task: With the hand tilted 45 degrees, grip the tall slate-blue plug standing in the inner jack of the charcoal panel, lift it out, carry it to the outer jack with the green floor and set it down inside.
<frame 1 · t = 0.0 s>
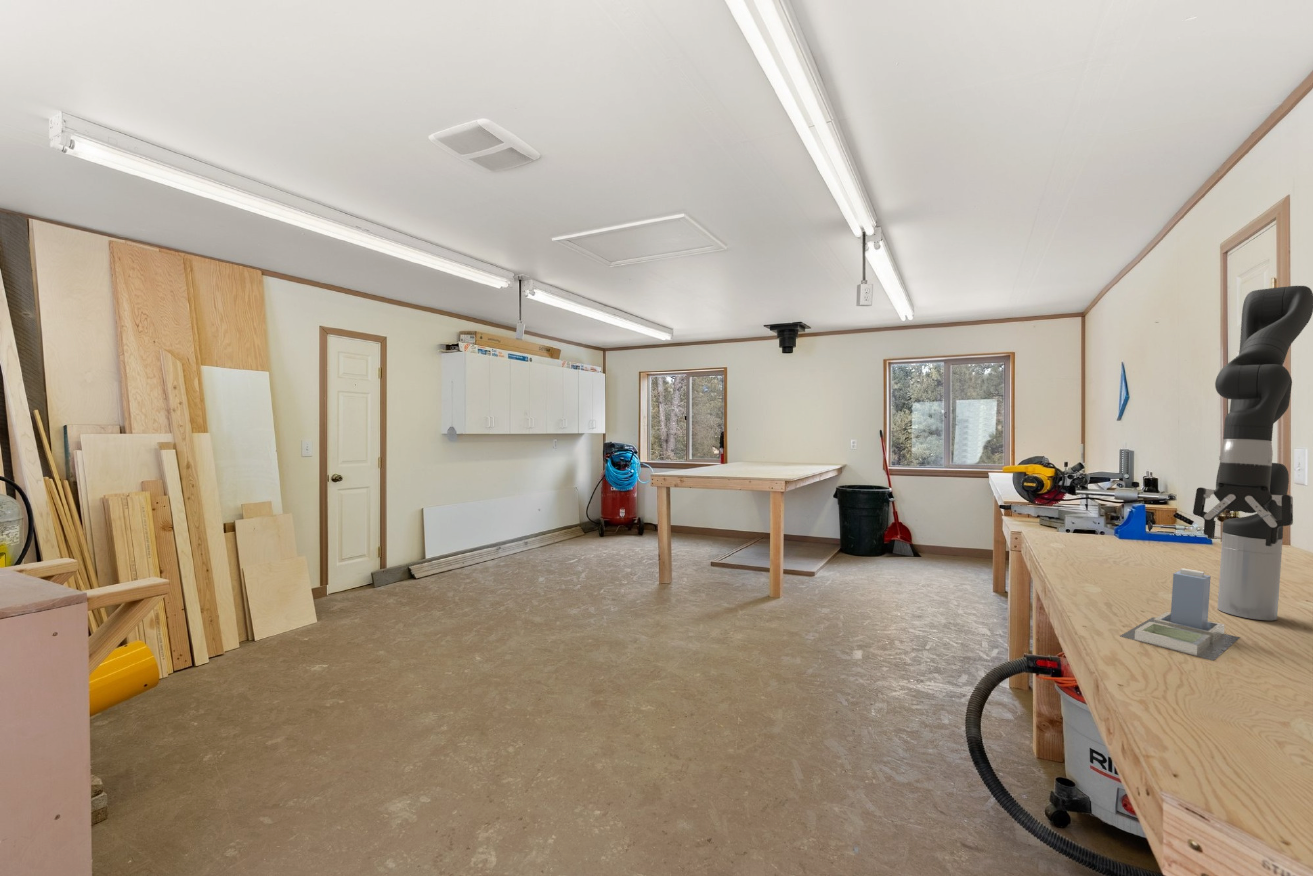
hand: (1238, 542, 120), 17 cm above the table, tool pointing down, fingers open, 8 cm apart
panel: (1180, 639, 111), on the table
plug: (1188, 631, 114), point 1 cm above the table, touching panel
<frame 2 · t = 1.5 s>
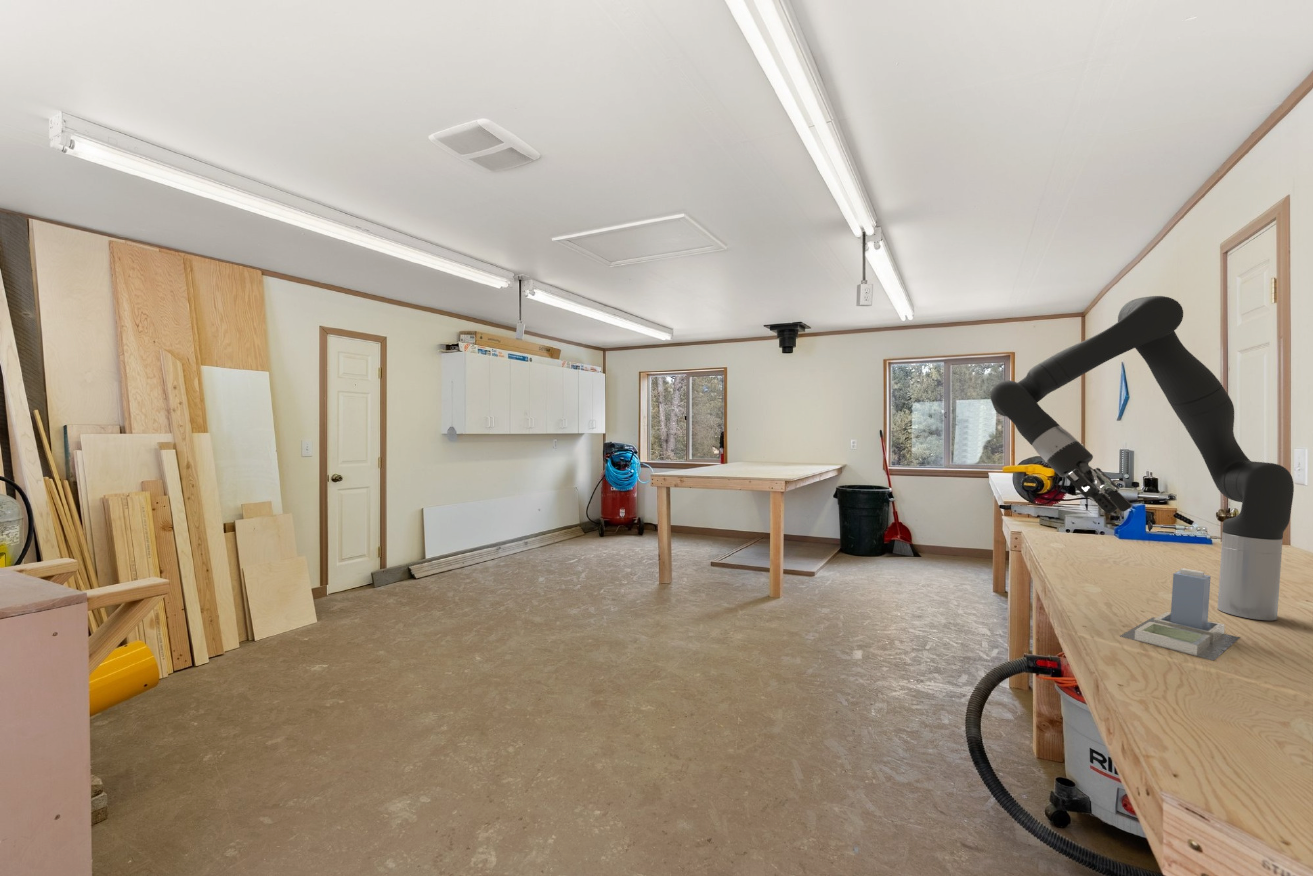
hand: (1120, 510, 122), 22 cm above the table, tool tilted 45°, fingers open, 8 cm apart
nothing on the table moved.
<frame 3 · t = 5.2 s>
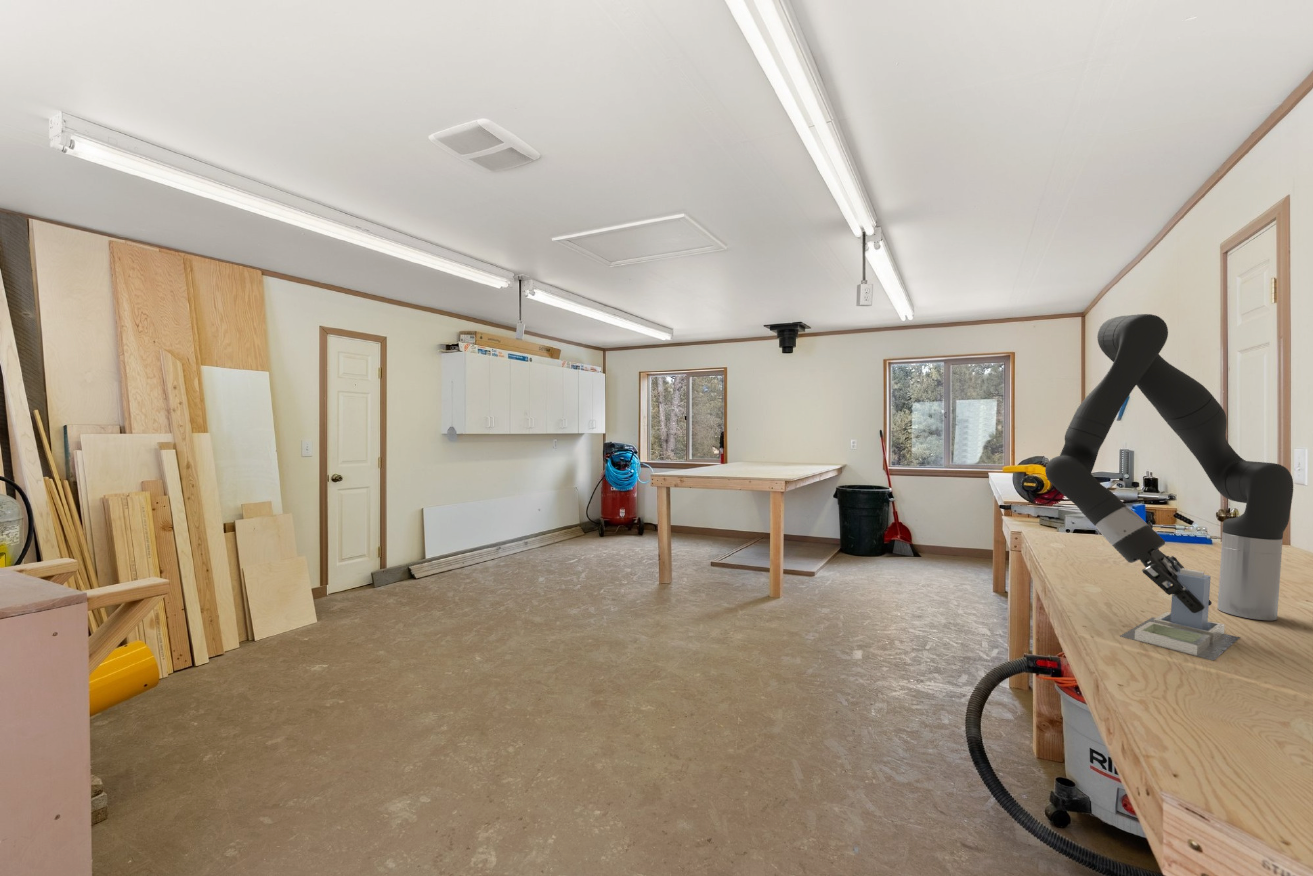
hand: (1203, 608, 112), 6 cm above the table, tool tilted 45°, fingers closed on plug, 4 cm apart
plug: (1188, 631, 114), point 1 cm above the table, touching gripper, panel
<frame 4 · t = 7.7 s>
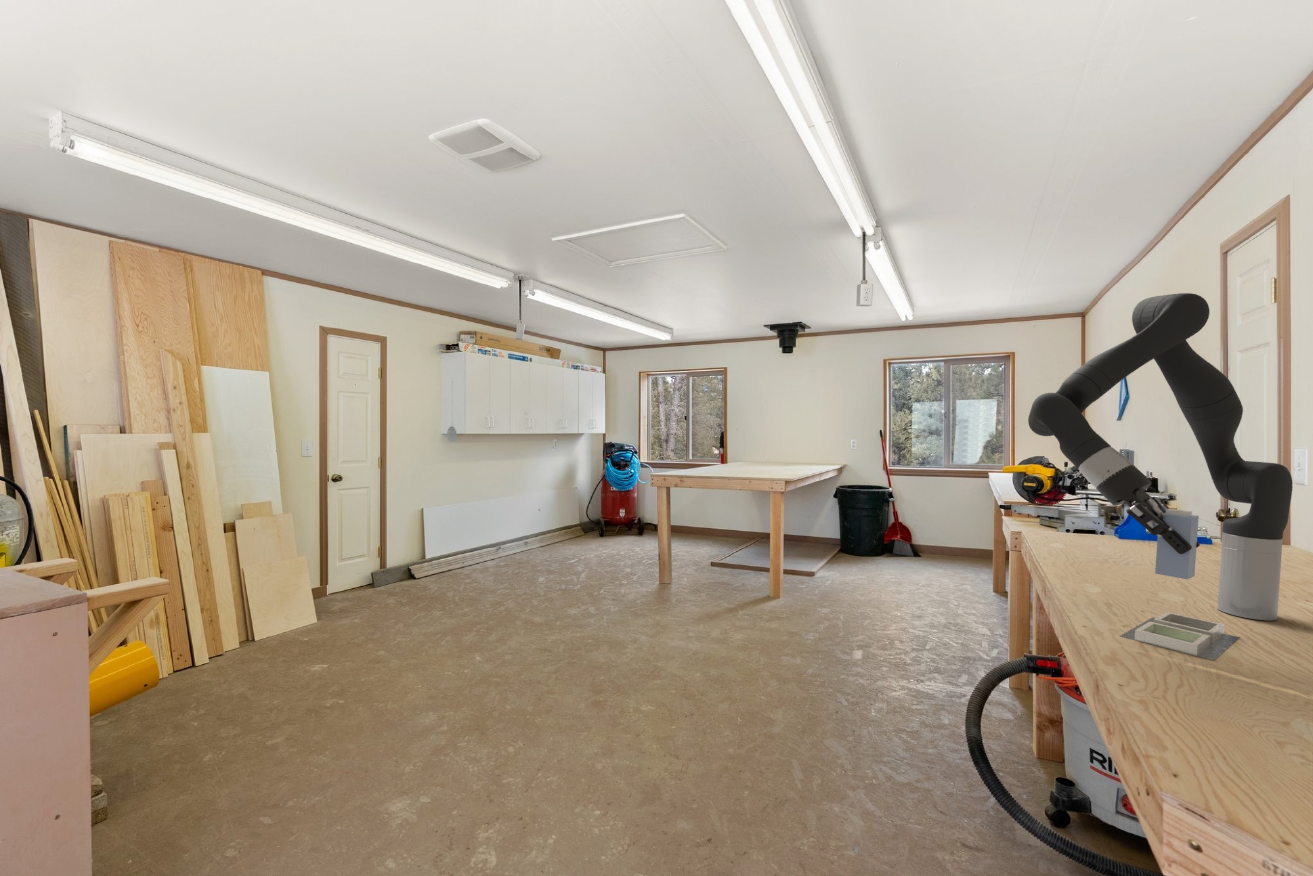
hand: (1190, 549, 105), 18 cm above the table, tool tilted 45°, fingers closed on plug, 4 cm apart
plug: (1174, 574, 107), point 13 cm above the table, touching gripper
when the fingers open (7 cm above the table, at t = 10.2 s): plug stays where it is, resting on panel.
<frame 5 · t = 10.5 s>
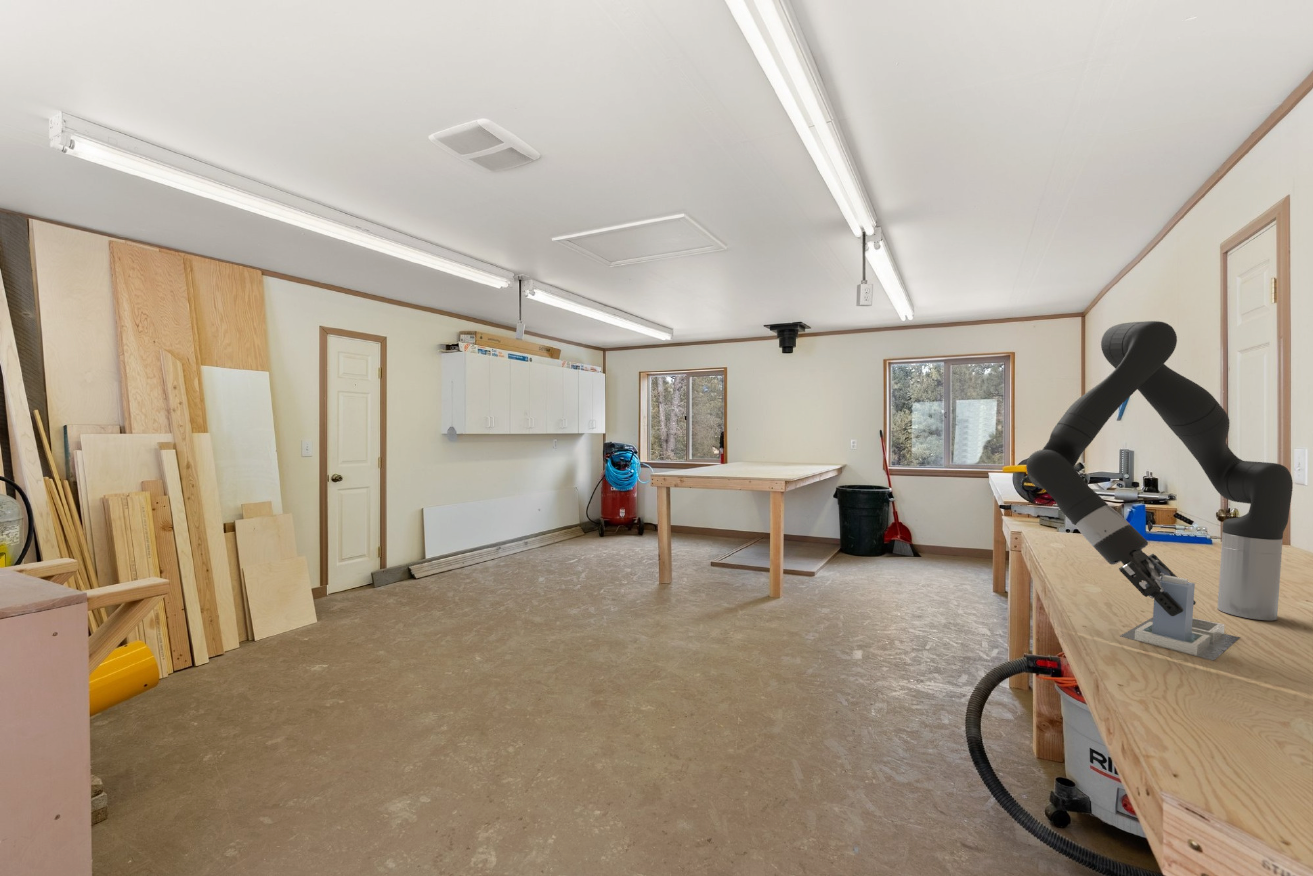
hand: (1184, 610, 106), 7 cm above the table, tool tilted 45°, fingers open, 7 cm apart
plug: (1171, 641, 107), point 1 cm above the table, touching panel
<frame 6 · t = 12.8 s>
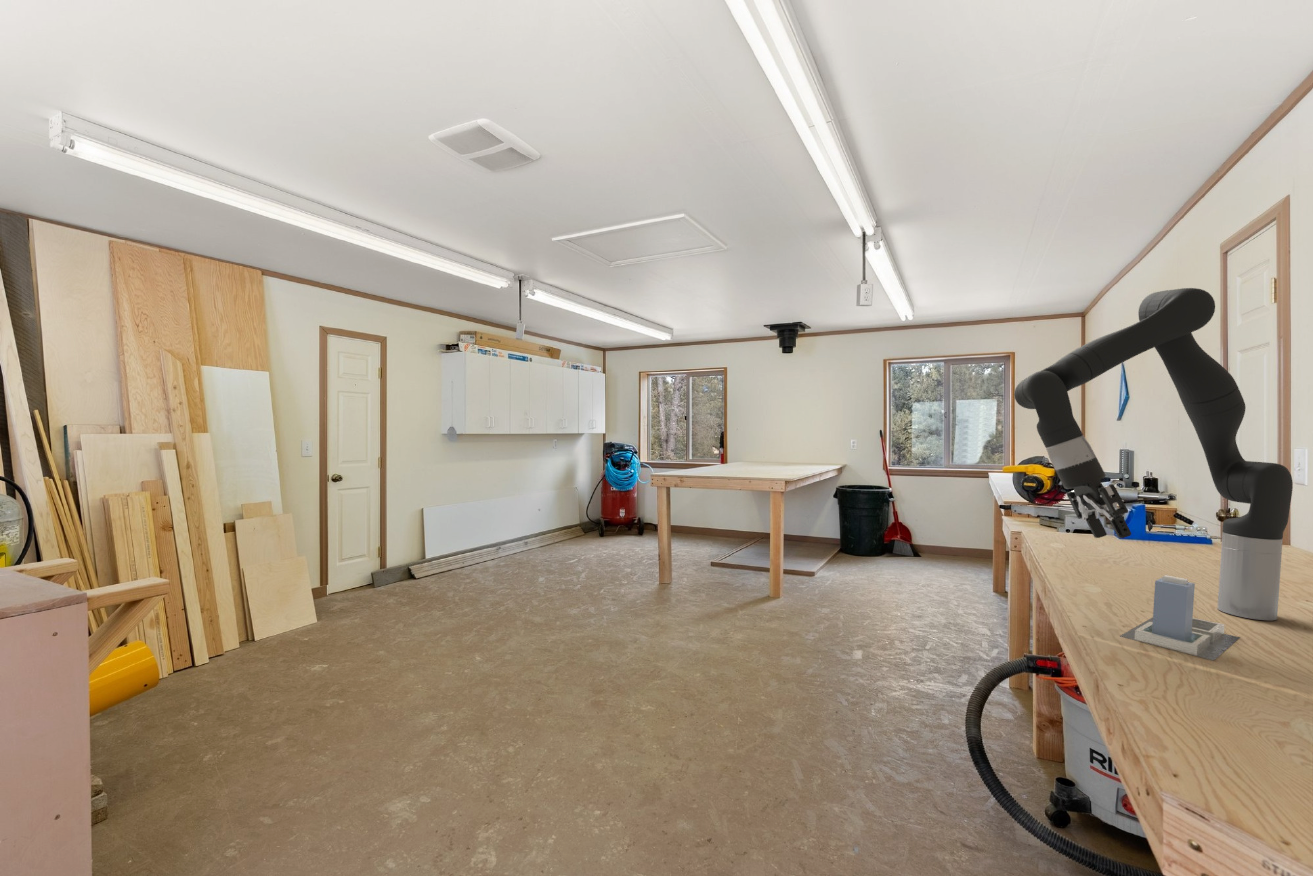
hand: (1112, 536, 119), 17 cm above the table, tool tilted 25°, fingers open, 8 cm apart
nothing on the table moved.
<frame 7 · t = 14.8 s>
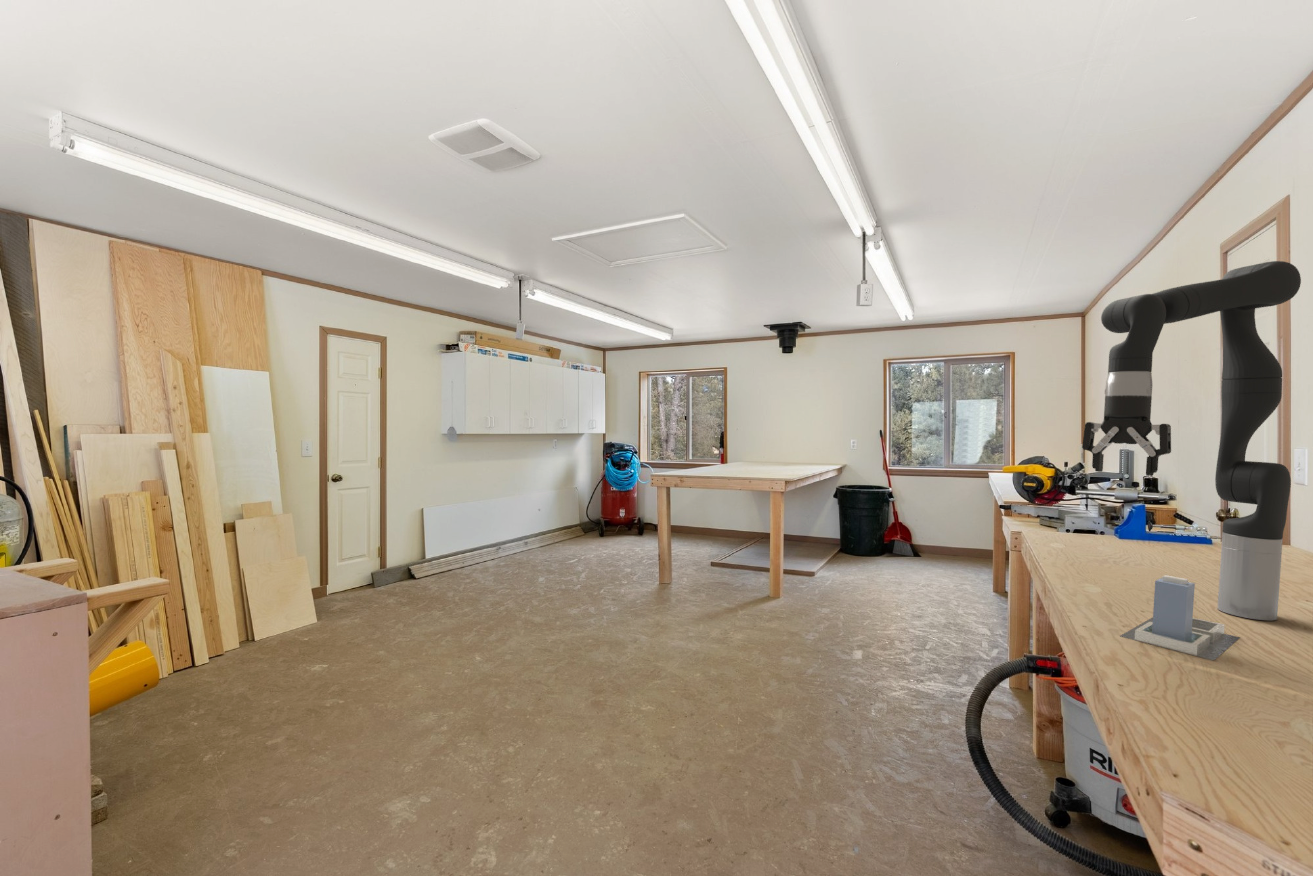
hand: (1123, 473, 122), 30 cm above the table, tool pointing down, fingers open, 8 cm apart
nothing on the table moved.
at the end: plug 0.1 cm from the target spot on the panel, point 0.7 cm above the panel's base; plug tilted 0°; the gripper is holding nothing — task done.
